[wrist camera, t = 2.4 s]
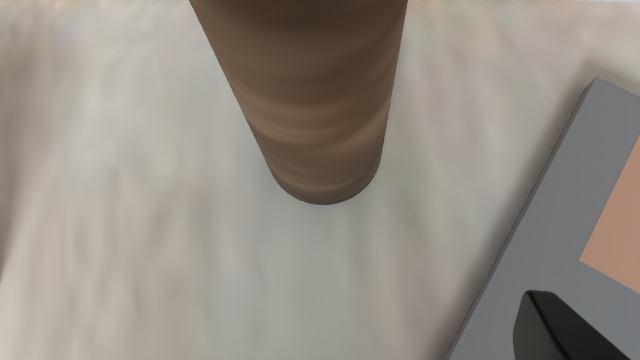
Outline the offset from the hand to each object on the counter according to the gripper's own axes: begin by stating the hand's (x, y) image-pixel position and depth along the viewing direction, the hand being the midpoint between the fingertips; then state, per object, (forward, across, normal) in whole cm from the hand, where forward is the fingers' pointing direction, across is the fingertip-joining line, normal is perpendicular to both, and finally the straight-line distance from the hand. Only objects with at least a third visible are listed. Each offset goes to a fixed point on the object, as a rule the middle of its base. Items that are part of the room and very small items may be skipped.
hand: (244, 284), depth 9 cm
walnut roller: (+14, 0, +4) cm, 15 cm away
